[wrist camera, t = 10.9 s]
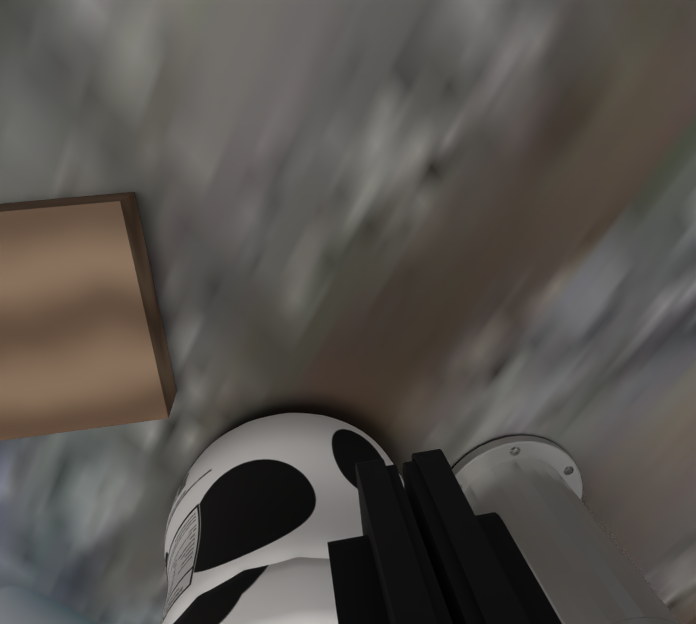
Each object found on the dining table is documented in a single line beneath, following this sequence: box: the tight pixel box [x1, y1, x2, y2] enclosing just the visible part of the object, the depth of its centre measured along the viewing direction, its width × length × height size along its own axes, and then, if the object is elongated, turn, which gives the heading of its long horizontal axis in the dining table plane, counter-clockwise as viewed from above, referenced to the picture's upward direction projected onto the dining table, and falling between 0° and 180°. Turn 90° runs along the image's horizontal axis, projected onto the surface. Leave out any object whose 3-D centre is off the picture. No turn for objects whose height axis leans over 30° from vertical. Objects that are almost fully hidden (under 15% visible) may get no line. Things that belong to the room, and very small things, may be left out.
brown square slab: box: [0, 192, 177, 441], centre depth 33 cm, size 14×14×4 cm
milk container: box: [161, 413, 404, 624], centre depth 34 cm, size 17×17×18 cm
